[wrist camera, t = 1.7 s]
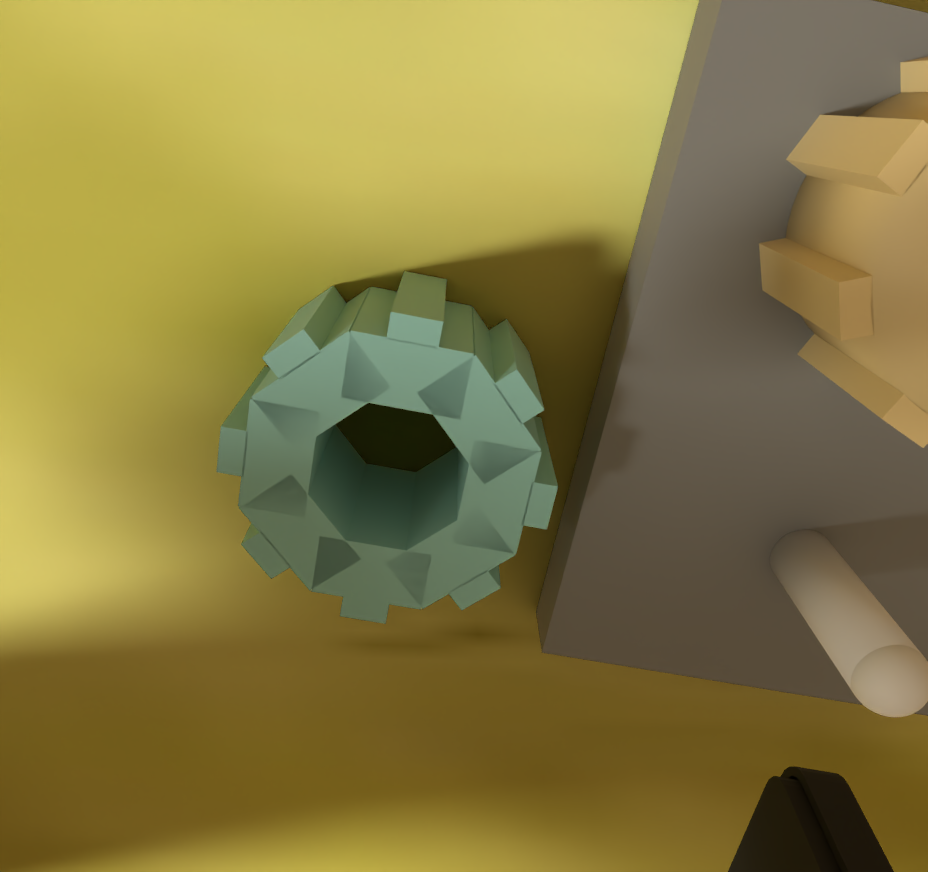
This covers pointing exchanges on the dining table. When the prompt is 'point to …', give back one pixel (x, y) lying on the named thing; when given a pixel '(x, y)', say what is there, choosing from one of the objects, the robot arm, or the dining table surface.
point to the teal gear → (382, 488)
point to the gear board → (768, 374)
